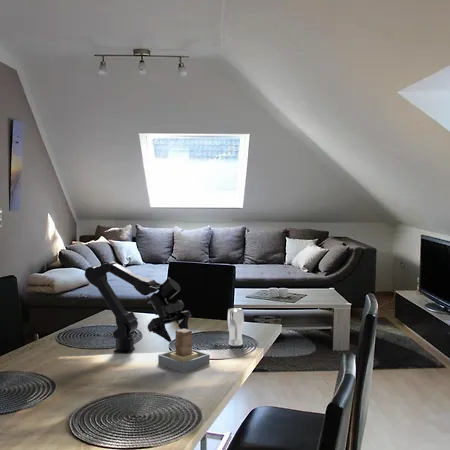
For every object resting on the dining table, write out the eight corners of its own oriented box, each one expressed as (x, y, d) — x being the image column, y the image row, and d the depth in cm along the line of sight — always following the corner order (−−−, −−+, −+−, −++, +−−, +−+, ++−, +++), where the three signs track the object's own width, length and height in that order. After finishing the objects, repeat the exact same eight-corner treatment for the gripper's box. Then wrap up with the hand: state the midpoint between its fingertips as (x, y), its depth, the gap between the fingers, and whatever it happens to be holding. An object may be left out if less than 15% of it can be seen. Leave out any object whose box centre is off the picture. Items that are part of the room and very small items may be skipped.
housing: (158, 363, 211) (158, 353, 211) (185, 354, 221) (185, 345, 221) (182, 372, 201) (182, 362, 201) (209, 363, 211) (209, 353, 211)
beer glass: (242, 347, 231) (242, 312, 230) (226, 345, 232) (226, 311, 231) (244, 342, 238) (245, 308, 236) (229, 341, 239) (229, 307, 238)
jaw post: (175, 361, 211) (175, 330, 210) (184, 358, 214) (184, 328, 213) (183, 363, 208) (183, 333, 207) (192, 360, 211) (191, 330, 210)
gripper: (151, 298, 207) (170, 332, 201) (188, 290, 220) (207, 322, 214) (139, 314, 213) (157, 348, 207) (175, 306, 227) (193, 338, 220)
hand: (179, 339), depth 212 cm, fingers open, 9 cm apart
